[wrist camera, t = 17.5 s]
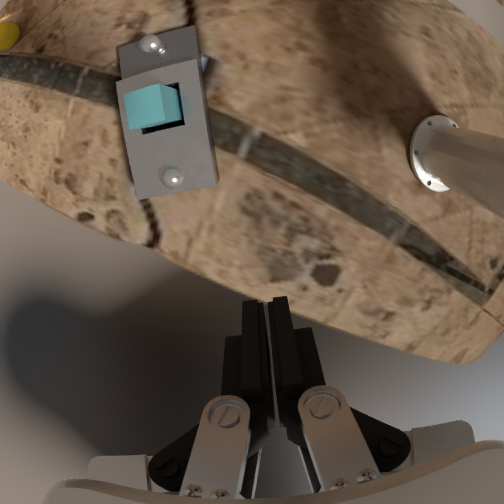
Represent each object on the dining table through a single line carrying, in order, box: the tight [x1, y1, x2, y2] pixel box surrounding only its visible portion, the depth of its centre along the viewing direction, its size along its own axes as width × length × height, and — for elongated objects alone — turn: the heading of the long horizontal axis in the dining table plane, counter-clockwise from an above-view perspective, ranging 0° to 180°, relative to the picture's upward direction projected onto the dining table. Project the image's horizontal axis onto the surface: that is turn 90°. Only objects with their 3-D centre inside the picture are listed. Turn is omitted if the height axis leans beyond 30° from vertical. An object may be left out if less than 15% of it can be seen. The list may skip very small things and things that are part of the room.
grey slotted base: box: [116, 25, 219, 200], centre depth 30 cm, size 11×22×5 cm, turn 7°
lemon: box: [0, 22, 20, 51], centre depth 18 cm, size 6×6×8 cm
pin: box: [124, 83, 184, 130], centre depth 27 cm, size 4×4×10 cm
